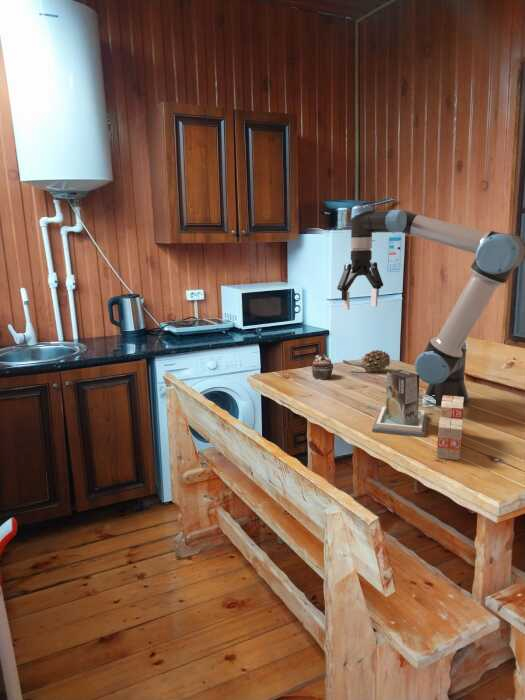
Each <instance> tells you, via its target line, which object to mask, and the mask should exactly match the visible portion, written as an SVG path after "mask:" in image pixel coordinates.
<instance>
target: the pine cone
mask: <svg viewBox="0 0 525 700" xmlns="http://www.w3.org/2000/svg"><path fill="white" fill-rule="evenodd" d="M390 359H391V356H390V355H389V353H387V352H386V351H382V350H379V349H377V350H371V351H370V352H369V353H365V354H364V356H363V357H361V363H356V362H351V361H348V360H346V359H342V362H343V364H345V365H349V366H353V367H360V368H363V369H364V370H365V372H366V373H367V372H368V373H370V372H371V373H374V372H380V371H381V370H383V369H386V368H387V367H389V366H390V364H391V360H390Z"/></svg>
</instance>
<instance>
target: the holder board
mask: <svg viewBox="0 0 525 700" xmlns="http://www.w3.org/2000/svg"><path fill="white" fill-rule="evenodd" d="M427 423H428V413H425V410H424V409H423V410H422V409H418V422H417V423H414V424H410V425H402V424H399V423H397V422H394V421H392V420H389V419H387V418H386V406H382V407H381V409H379V411H378V414H377V417H376V418H375V422H374V423H373V426H372V433H383V434H392V435H402V436H411V435H412V436H414V437H421V436H423V438H425V437H426V431H427V425H428V424H427Z"/></svg>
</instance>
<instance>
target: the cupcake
mask: <svg viewBox="0 0 525 700" xmlns="http://www.w3.org/2000/svg"><path fill="white" fill-rule="evenodd" d="M310 369H311V373H312V378H313V377H314V378H315V380H319V379H320V380H321V381H324V380H325V381H326V380H329V379H332V374H333V370H334V365H333V363H332V360H331V358H330V357H329V356H328V354H326V353H325V354H317V355H315V359H314V360H313V362H312V365H311V367H310ZM314 378H313V379H314ZM320 380H319V381H320Z"/></svg>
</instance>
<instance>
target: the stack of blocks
mask: <svg viewBox="0 0 525 700" xmlns="http://www.w3.org/2000/svg"><path fill="white" fill-rule="evenodd" d="M463 417H464V397H458V396H445V395H443V397H442V402H441V405H440V418H439V422H438V435H437V446H436V448H437V449H436V458H439V459H446V460H447V459H448V460H454V461H460V458H461V450H462V449H461V448H462V446H461V445H462V437H463V435H462V434H463V419H464V418H463Z"/></svg>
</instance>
